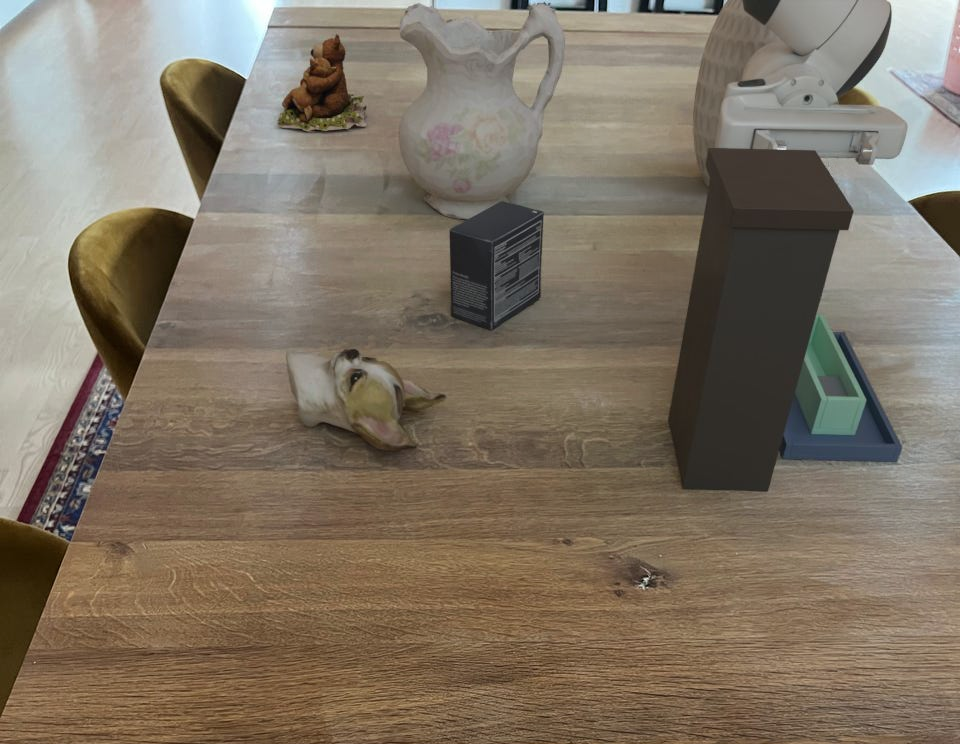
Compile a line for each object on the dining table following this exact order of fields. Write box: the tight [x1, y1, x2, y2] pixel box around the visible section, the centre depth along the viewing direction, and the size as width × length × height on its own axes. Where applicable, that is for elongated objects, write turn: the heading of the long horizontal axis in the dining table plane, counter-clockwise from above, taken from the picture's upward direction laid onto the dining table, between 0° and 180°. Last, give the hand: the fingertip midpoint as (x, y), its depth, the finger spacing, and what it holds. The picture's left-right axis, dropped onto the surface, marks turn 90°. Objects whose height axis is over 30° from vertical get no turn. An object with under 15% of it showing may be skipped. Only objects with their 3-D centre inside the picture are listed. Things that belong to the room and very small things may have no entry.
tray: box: [779, 331, 903, 463], centre depth 103 cm, size 11×23×2 cm, turn 179°
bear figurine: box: [277, 33, 368, 133], centre depth 160 cm, size 14×15×12 cm
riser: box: [667, 148, 854, 492], centre depth 86 cm, size 9×13×26 cm
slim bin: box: [795, 313, 866, 435], centre depth 102 cm, size 4×18×4 cm, turn 179°
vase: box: [692, 0, 782, 188], centre depth 137 cm, size 13×13×28 cm
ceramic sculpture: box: [285, 348, 448, 452], centre depth 95 cm, size 11×9×15 cm
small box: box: [448, 201, 545, 331], centre depth 113 cm, size 11×6×10 cm, turn 144°
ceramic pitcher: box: [398, 1, 566, 220], centre depth 131 cm, size 22×20×25 cm
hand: (823, 156), depth 102 cm, fingers open, 8 cm apart
